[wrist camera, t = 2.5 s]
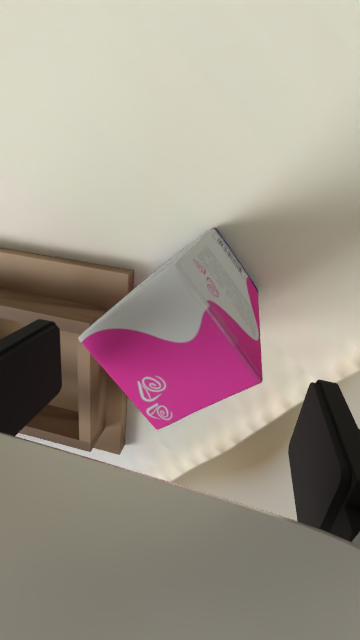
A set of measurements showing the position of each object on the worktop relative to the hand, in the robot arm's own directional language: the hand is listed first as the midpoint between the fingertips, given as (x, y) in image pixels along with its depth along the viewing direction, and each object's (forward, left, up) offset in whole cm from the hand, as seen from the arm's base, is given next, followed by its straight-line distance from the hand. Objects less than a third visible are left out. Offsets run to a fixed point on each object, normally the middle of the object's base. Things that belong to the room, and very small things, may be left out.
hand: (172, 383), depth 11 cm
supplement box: (0, -1, -13) cm, 13 cm away
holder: (+9, -14, -13) cm, 20 cm away
